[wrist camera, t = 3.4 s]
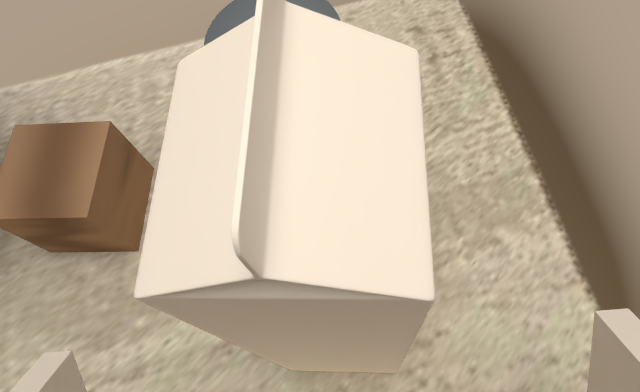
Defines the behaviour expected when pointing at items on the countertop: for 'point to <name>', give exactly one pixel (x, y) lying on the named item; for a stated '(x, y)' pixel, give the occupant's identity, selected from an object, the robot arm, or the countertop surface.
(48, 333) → the countertop surface
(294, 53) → the milk
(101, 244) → the walnut block
